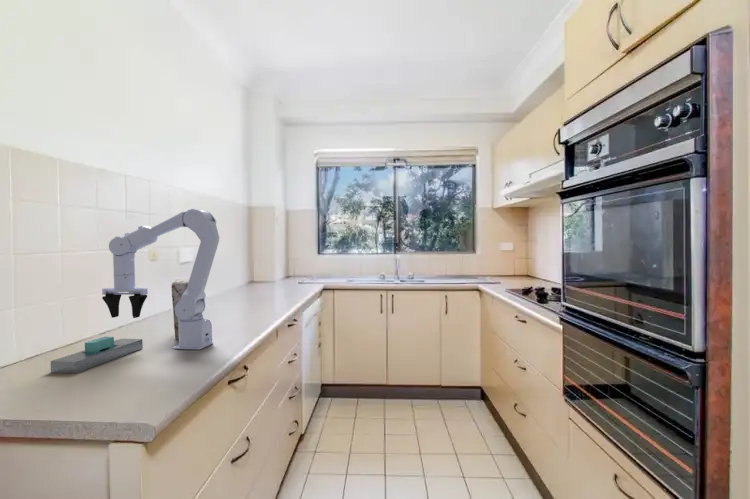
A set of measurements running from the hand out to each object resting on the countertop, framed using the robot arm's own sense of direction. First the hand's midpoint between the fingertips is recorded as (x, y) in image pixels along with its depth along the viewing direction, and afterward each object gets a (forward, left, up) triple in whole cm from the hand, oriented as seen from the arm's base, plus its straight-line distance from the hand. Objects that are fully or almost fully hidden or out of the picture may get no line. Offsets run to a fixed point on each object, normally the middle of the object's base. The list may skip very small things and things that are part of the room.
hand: (125, 317), depth 128 cm
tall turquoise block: (-2, +12, -9) cm, 15 cm away
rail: (-2, +12, -10) cm, 16 cm away
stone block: (-8, -18, -10) cm, 22 cm away
